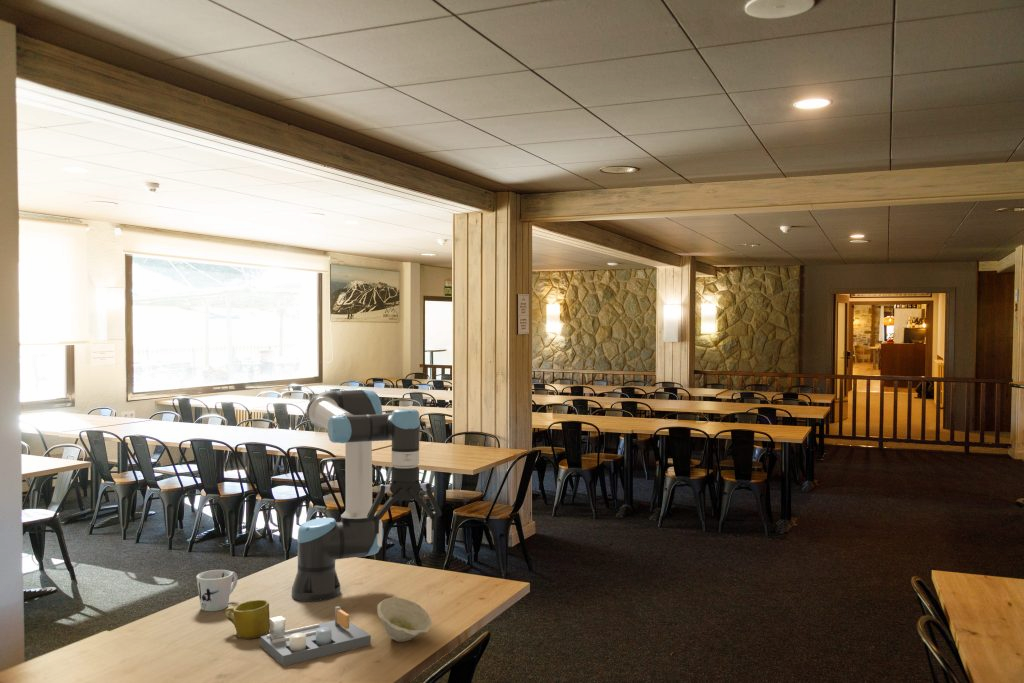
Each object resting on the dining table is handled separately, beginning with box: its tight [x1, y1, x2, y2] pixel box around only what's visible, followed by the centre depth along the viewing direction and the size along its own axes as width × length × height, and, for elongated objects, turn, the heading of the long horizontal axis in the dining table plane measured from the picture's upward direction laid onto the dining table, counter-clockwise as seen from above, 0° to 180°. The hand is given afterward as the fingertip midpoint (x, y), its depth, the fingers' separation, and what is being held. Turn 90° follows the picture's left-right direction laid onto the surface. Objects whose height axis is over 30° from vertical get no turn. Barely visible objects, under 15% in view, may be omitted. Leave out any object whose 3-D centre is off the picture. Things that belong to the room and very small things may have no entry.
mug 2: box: [223, 599, 270, 640], centre depth 218 cm, size 12×10×10 cm
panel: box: [260, 619, 372, 667], centre depth 210 cm, size 16×24×3 cm, turn 127°
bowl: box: [376, 597, 432, 643], centre depth 214 cm, size 15×14×10 cm
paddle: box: [334, 606, 350, 629], centre depth 215 cm, size 7×1×5 cm, turn 37°
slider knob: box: [269, 615, 287, 640], centre depth 207 cm, size 3×3×5 cm
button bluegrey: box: [316, 627, 332, 646], centre depth 206 cm, size 4×4×3 cm
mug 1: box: [196, 569, 239, 612], centre depth 241 cm, size 10×15×10 cm
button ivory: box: [290, 633, 306, 652], centre depth 201 cm, size 4×4×3 cm
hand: (404, 543), depth 216 cm, fingers open, 13 cm apart
